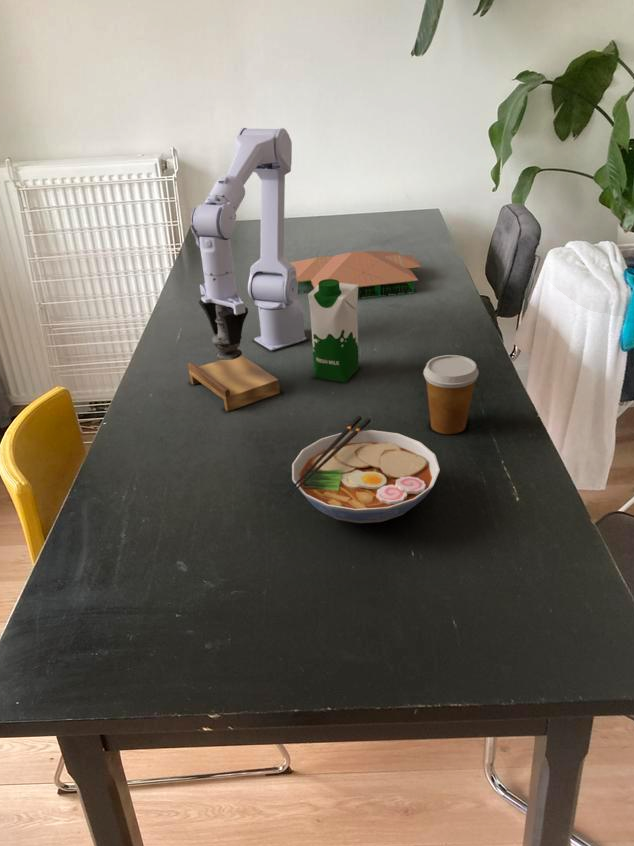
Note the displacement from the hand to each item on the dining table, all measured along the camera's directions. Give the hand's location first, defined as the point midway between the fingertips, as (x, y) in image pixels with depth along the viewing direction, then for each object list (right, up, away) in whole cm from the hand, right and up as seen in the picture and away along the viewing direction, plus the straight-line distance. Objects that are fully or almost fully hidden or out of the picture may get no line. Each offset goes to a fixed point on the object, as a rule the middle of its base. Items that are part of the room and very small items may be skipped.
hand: (227, 338), depth 159 cm
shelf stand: (+1, -9, +5) cm, 10 cm away
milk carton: (+22, -6, +8) cm, 24 cm away
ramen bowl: (+25, -34, -31) cm, 52 cm away
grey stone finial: (0, -3, +2) cm, 4 cm away
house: (+29, +25, +50) cm, 63 cm away
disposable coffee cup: (+42, -19, -12) cm, 47 cm away
